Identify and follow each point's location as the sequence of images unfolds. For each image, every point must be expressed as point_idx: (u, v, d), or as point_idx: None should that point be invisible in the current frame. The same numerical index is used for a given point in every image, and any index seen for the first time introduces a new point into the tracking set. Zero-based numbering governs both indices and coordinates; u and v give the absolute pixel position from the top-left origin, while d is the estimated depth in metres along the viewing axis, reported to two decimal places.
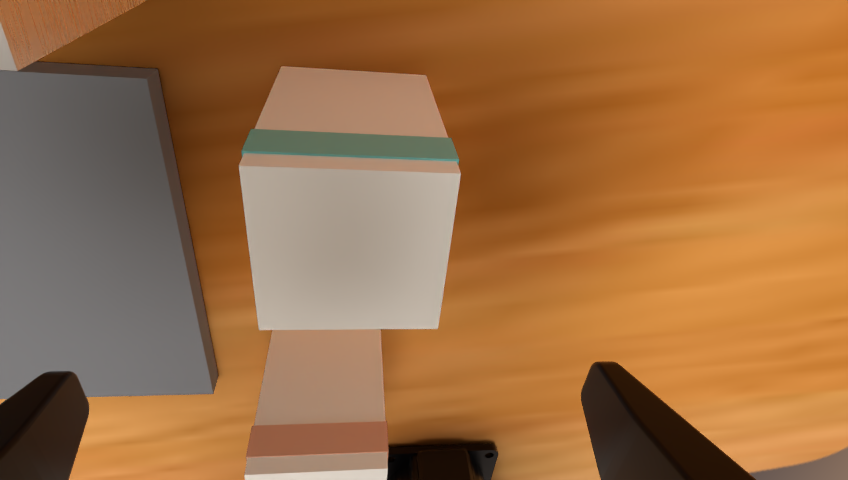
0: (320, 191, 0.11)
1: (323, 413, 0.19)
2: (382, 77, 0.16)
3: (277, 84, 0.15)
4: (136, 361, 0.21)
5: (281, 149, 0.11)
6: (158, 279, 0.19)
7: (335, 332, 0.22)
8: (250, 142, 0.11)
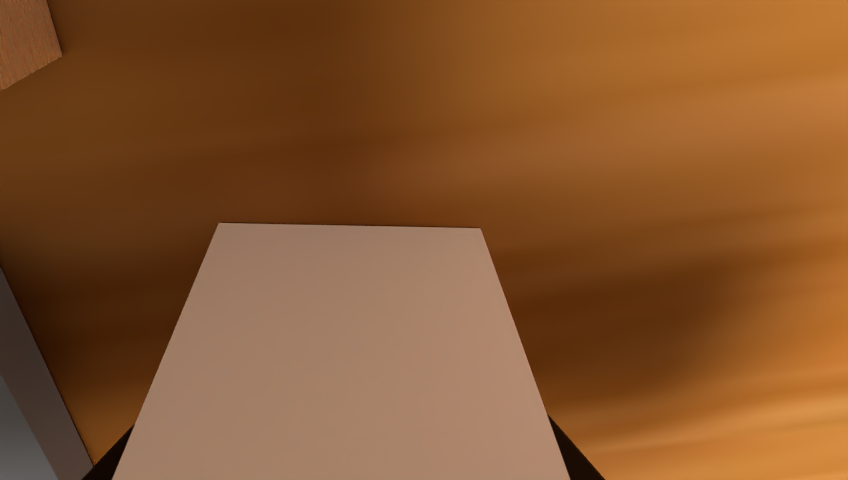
0: None
1: None
2: (404, 243, 0.09)
3: (198, 291, 0.07)
4: None
5: None
6: None
7: None
8: None
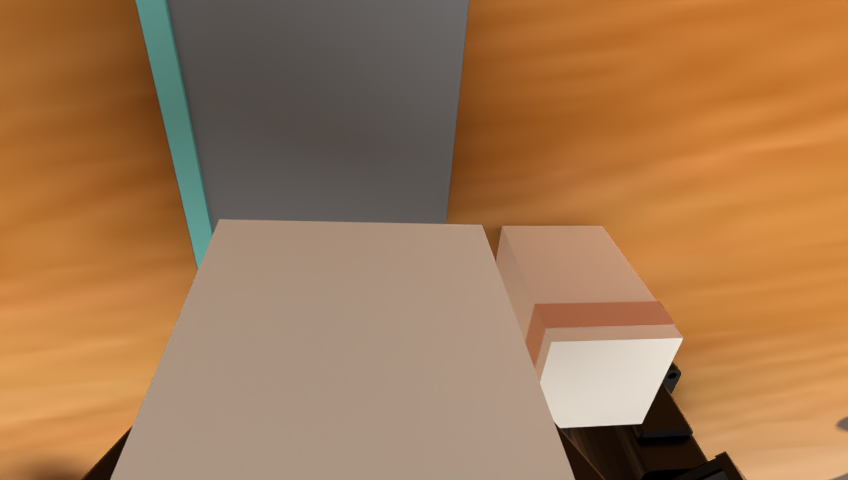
0: None
1: (595, 295, 0.19)
2: (405, 240, 0.09)
3: (199, 287, 0.07)
4: None
5: None
6: (423, 169, 0.19)
7: (565, 233, 0.22)
8: None
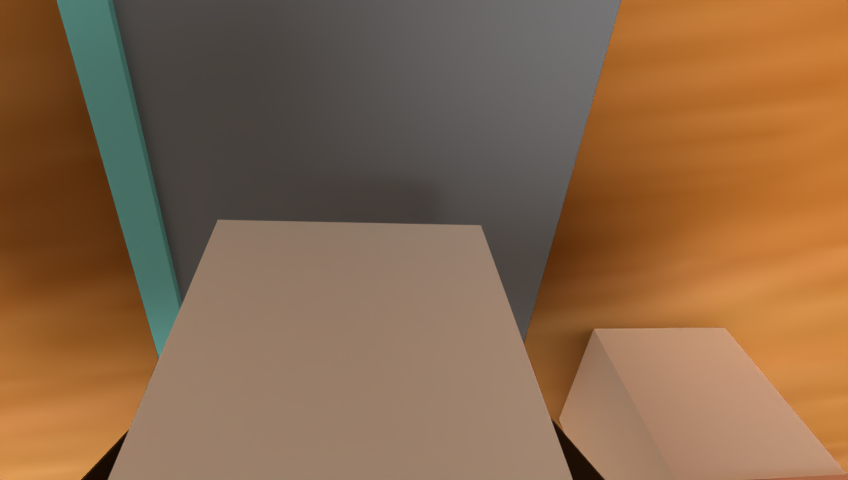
0: None
1: (755, 461, 0.13)
2: (404, 240, 0.09)
3: (197, 287, 0.07)
4: None
5: None
6: (504, 268, 0.13)
7: (681, 342, 0.16)
8: None
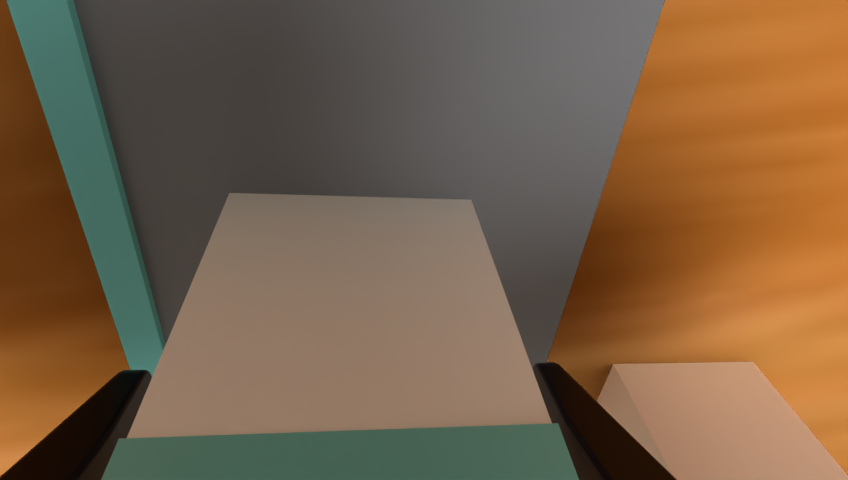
0: None
1: None
2: (400, 212, 0.10)
3: (212, 249, 0.08)
4: None
5: None
6: (520, 307, 0.12)
7: (707, 379, 0.15)
8: None
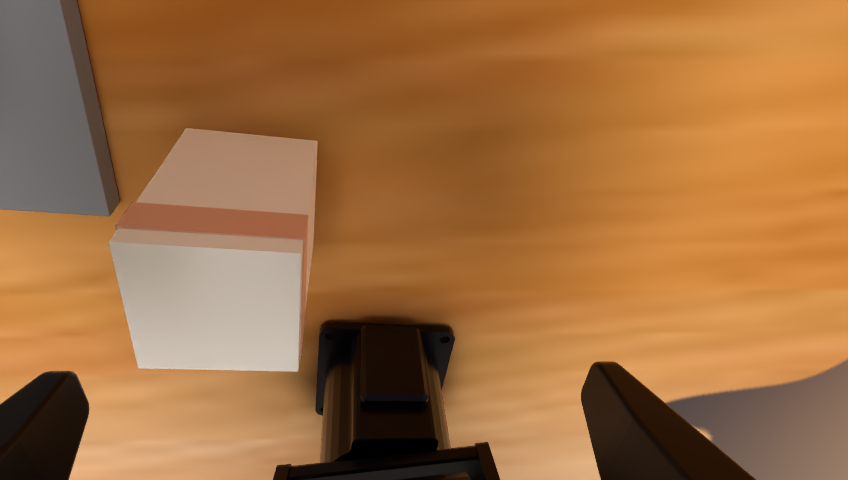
0: None
1: (229, 201, 0.15)
2: None
3: None
4: (7, 156, 0.17)
5: None
6: (26, 26, 0.15)
7: (261, 143, 0.18)
8: None
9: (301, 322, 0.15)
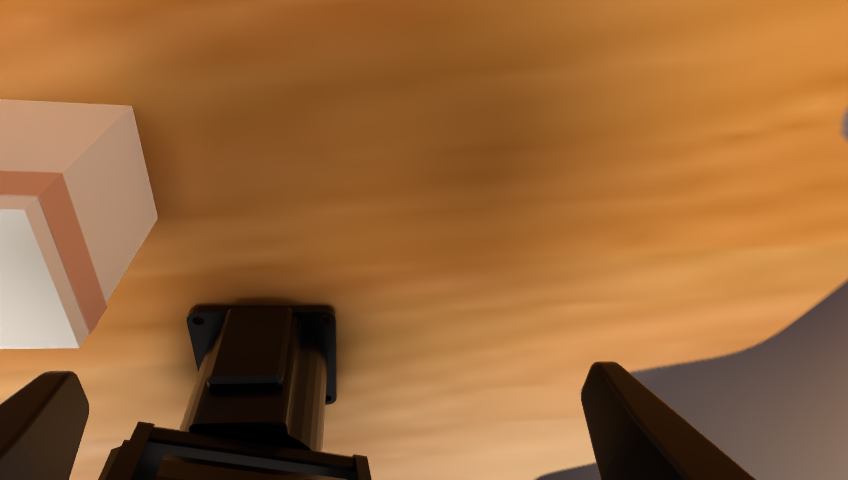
0: None
1: None
2: None
3: None
4: None
5: None
6: None
7: (62, 109, 0.17)
8: None
9: (73, 293, 0.14)
